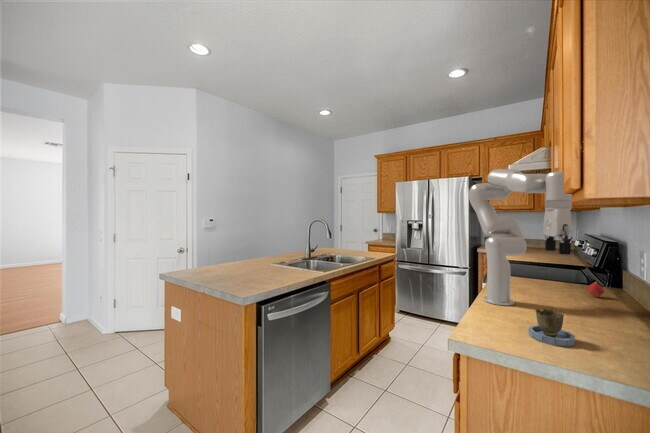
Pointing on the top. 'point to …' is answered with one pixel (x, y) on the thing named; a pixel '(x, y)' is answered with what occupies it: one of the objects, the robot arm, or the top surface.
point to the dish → (561, 339)
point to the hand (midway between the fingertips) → (557, 252)
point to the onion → (595, 289)
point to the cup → (549, 321)
